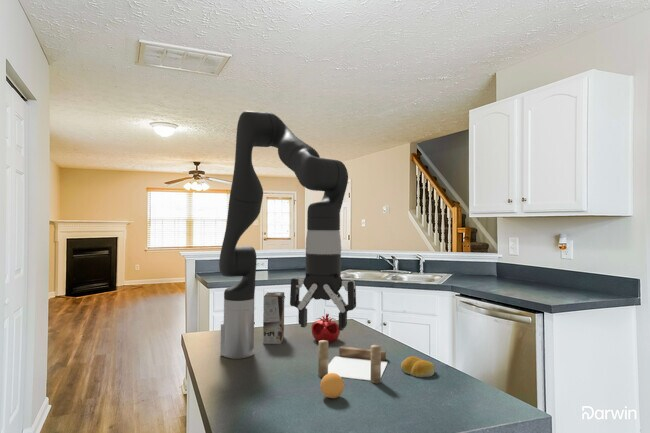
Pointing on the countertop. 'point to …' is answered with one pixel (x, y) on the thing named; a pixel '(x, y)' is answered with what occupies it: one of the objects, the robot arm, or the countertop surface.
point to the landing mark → (353, 368)
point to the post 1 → (323, 358)
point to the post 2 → (375, 363)
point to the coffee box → (273, 318)
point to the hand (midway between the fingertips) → (322, 328)
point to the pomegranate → (325, 329)
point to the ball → (332, 385)
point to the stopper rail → (359, 353)
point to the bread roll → (417, 367)
